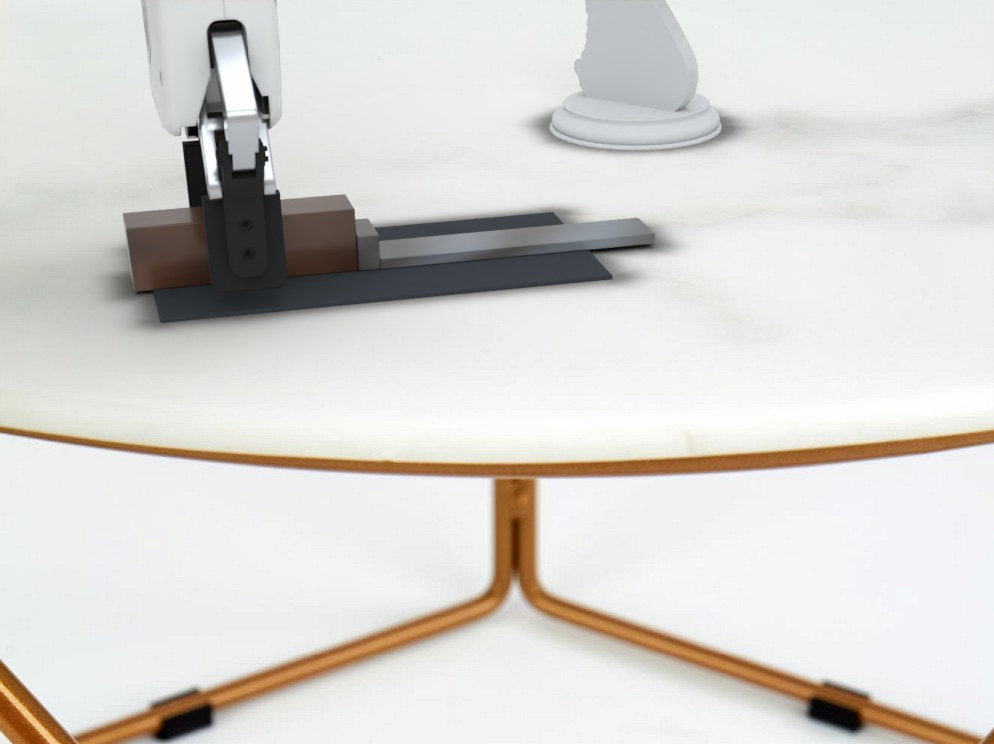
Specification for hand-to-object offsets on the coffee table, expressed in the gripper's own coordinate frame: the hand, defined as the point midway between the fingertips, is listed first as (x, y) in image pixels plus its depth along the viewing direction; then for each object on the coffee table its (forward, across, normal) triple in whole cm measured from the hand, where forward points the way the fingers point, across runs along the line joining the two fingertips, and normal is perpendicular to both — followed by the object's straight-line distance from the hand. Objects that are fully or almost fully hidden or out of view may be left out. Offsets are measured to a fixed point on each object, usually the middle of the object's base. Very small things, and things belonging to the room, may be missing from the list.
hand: (237, 255), depth 77 cm
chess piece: (+2, -20, +25) cm, 32 cm away
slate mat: (+1, 0, +6) cm, 6 cm away
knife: (+1, 0, +6) cm, 6 cm away
